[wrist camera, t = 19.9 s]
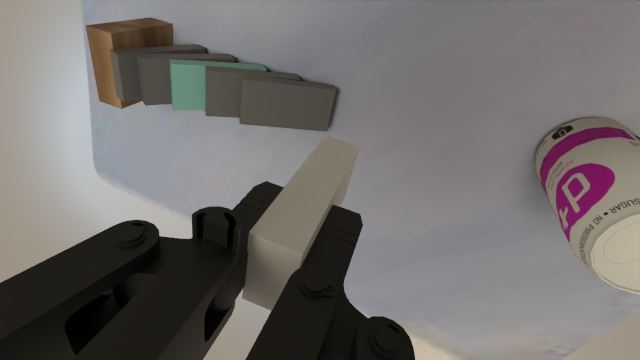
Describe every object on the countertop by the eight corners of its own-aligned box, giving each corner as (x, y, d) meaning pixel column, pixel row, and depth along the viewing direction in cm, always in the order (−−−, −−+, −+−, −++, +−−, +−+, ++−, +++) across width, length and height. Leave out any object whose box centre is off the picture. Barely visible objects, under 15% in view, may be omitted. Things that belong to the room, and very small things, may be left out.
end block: (171, 23, 40) (110, 33, 33) (175, 87, 45) (121, 108, 37) (150, 17, 41) (85, 25, 33) (155, 81, 45) (99, 100, 38)
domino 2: (234, 58, 39) (140, 58, 33) (232, 99, 42) (145, 105, 36) (229, 54, 40) (136, 53, 34) (227, 94, 43) (141, 99, 37)
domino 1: (205, 48, 40) (117, 54, 33) (205, 88, 43) (123, 102, 36) (197, 44, 41) (109, 49, 34) (197, 84, 43) (116, 96, 36)
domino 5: (336, 90, 37) (242, 79, 34) (326, 131, 39) (239, 123, 37) (332, 85, 38) (242, 73, 35) (324, 125, 41) (239, 117, 38)
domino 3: (266, 69, 38) (170, 63, 34) (262, 109, 41) (173, 110, 36) (262, 64, 39) (169, 58, 35) (258, 104, 42) (171, 104, 38)
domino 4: (300, 79, 37) (205, 70, 34) (293, 120, 40) (205, 115, 37) (297, 74, 39) (205, 65, 35) (290, 114, 41) (205, 109, 38)
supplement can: (516, 171, 36) (552, 269, 24) (567, 102, 32) (645, 178, 19) (592, 201, 35) (669, 318, 23) (656, 134, 31) (797, 236, 18)
